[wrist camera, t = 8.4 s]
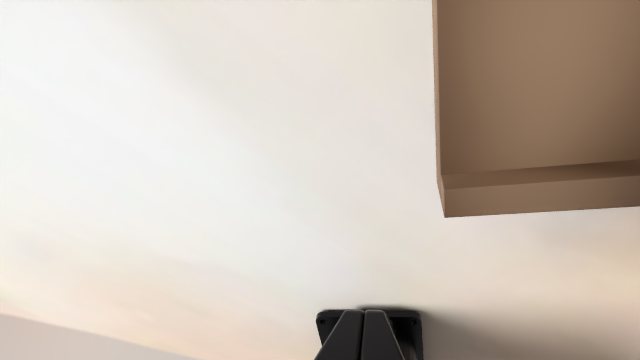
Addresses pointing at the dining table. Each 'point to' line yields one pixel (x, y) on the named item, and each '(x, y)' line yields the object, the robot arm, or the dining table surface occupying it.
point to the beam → (536, 105)
